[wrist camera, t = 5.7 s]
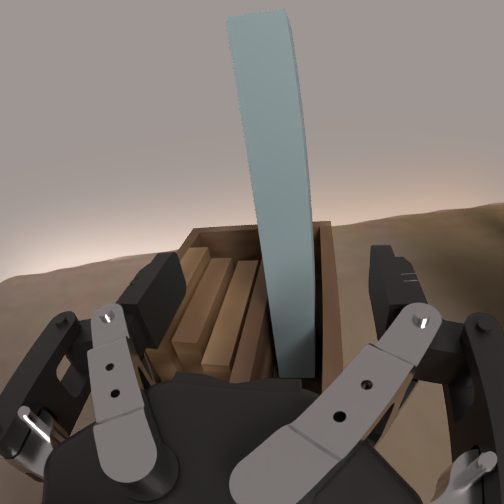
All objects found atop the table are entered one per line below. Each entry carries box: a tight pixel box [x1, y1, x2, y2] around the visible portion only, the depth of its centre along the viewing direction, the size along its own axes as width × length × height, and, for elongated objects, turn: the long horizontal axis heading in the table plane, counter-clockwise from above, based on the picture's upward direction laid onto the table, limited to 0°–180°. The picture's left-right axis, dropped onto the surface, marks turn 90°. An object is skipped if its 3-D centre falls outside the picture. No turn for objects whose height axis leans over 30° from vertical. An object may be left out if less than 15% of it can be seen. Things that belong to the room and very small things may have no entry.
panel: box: [225, 9, 316, 378], centre depth 21 cm, size 3×6×26 cm, turn 170°
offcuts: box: [145, 247, 259, 382], centre depth 27 cm, size 7×13×8 cm, turn 171°
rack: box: [145, 221, 343, 394], centre depth 27 cm, size 16×23×7 cm
